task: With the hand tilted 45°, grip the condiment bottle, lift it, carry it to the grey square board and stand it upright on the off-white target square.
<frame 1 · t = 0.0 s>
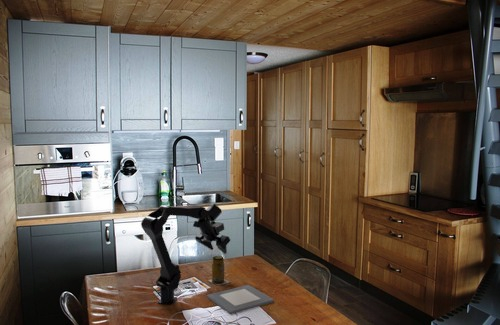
hand: (219, 251, 201), 15 cm above the table, tool tilted 35°, fingers open, 9 cm apart
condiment: (218, 282, 202), on the table
grey square board: (239, 299, 181), on the table
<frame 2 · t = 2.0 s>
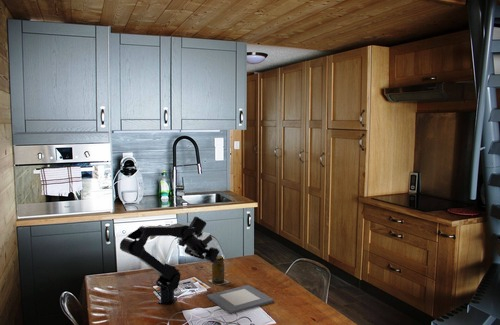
hand: (210, 260, 197), 12 cm above the table, tool tilted 45°, fingers open, 9 cm apart
nothing on the table moved.
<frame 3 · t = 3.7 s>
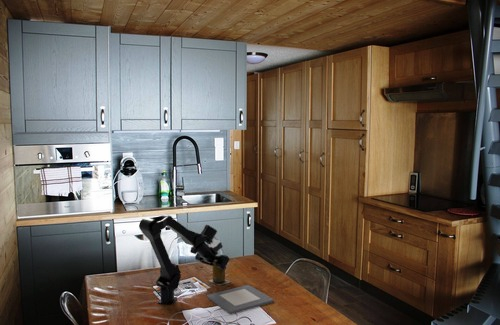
hand: (220, 267, 203), 7 cm above the table, tool tilted 45°, fingers closed on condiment, 6 cm apart
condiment: (219, 282, 202), on the table, touching gripper
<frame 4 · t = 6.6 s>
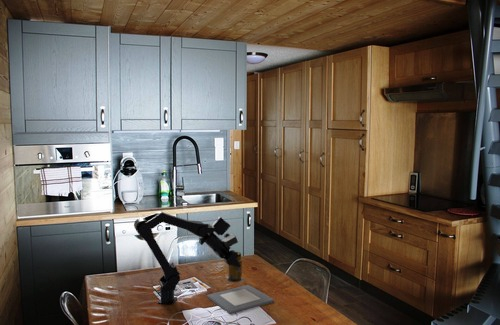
hand: (237, 264, 191), 12 cm above the table, tool tilted 45°, fingers closed on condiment, 6 cm apart
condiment: (235, 279, 190), point 5 cm above the table, touching gripper
when the fingers open (8 cm above the table, at t = 9.3 s): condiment stays where it is, resting on grey square board.
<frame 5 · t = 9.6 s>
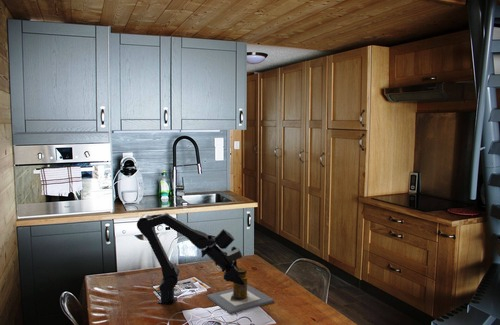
hand: (243, 280, 181), 9 cm above the table, tool tilted 45°, fingers open, 9 cm apart
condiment: (239, 298, 181), point 1 cm above the table, touching grey square board
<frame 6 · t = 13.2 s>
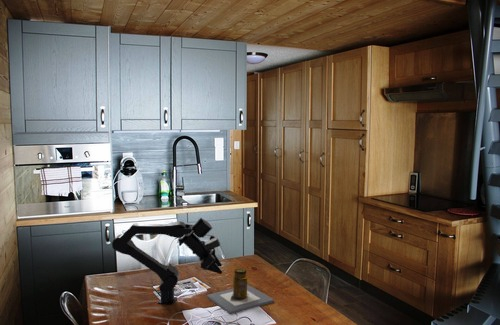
hand: (221, 269, 180), 14 cm above the table, tool tilted 45°, fingers open, 9 cm apart
nothing on the table moved.
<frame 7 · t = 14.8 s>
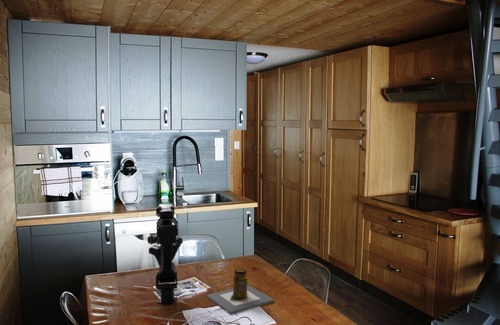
hand: (166, 263, 193), 12 cm above the table, tool pointing down, fingers open, 9 cm apart
nothing on the table moved.
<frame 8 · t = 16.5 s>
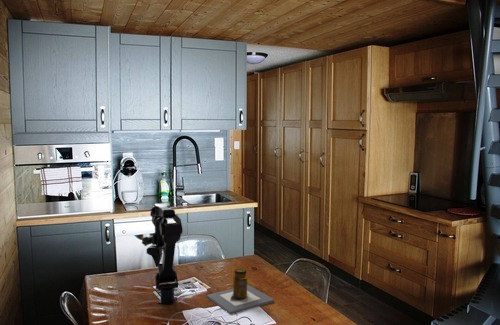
hand: (161, 263, 191), 12 cm above the table, tool pointing down, fingers open, 9 cm apart
nothing on the table moved.
at the end: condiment inside the target area on the grey square board (0.8 cm from its centre), point 1.0 cm above the grey square board's base; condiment tilted 0°; the gripper is holding nothing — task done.
